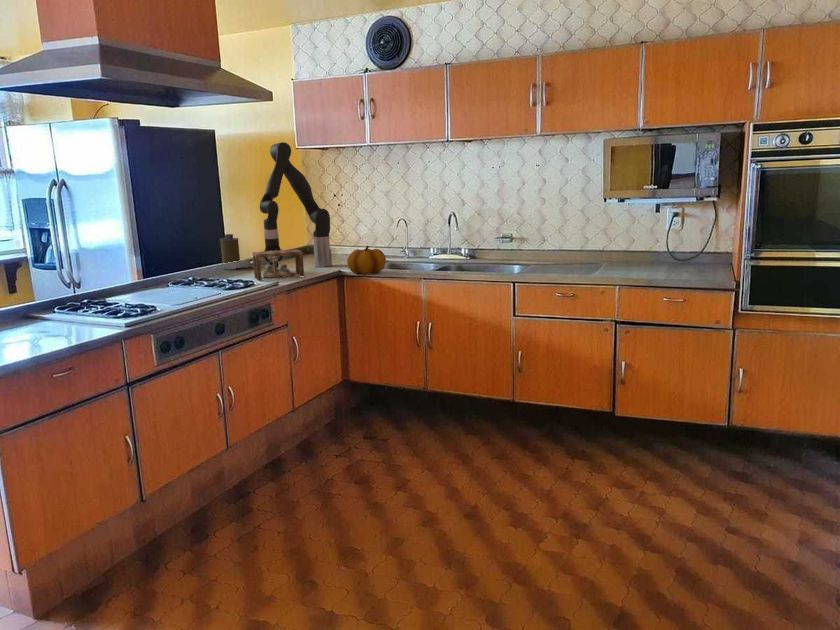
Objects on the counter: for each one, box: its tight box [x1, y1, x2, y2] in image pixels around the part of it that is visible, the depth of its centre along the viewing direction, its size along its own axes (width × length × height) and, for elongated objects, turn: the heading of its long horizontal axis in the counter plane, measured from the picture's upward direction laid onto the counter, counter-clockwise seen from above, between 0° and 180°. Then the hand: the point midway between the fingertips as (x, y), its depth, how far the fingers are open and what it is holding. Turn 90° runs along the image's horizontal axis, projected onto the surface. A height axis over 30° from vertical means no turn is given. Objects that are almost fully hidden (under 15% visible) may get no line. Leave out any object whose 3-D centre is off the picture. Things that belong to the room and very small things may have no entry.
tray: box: [261, 256, 292, 279], centre depth 358 cm, size 14×23×8 cm, turn 17°
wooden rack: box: [252, 248, 305, 281], centre depth 347 cm, size 24×12×14 cm, turn 111°
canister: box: [219, 233, 241, 265], centre depth 384 cm, size 11×10×20 cm
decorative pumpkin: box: [346, 245, 387, 276], centre depth 352 cm, size 20×22×15 cm
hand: (274, 268), depth 365 cm, fingers closed on tray, 2 cm apart
